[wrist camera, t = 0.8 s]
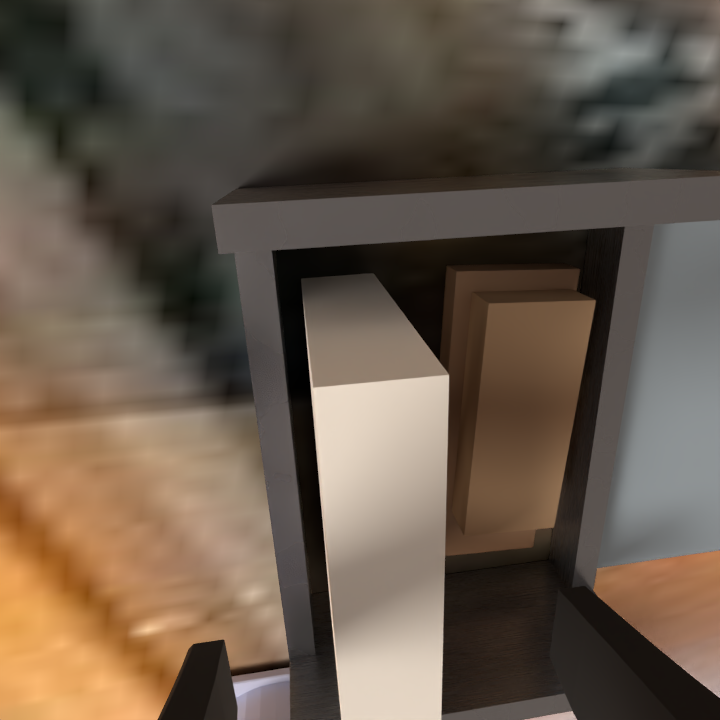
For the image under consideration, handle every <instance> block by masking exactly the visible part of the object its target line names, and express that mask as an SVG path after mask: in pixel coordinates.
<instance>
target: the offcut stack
mask: <svg viewBox="0 0 720 720" xmlns="http://www.w3.org/2000/svg"><path fill="white" fill-rule="evenodd" d="M579 273H580V269H579V268H576V267H574V266H571V265H568V264H565V263H543V264H486V265H447V267H446V281H445V295H444V309H443V322H442V336H441V350H440V363H441V365H442V366H443V367H444V369H445V370H446V371H447V373H448V374H449V403H448V447H447V491H446V535H445V556H451V555H461V554H470V553H480V552H490V551H500V550H510V549H519V548H529V547H533V544H534V538H535V532H536V529H544V528H554V525H555V519H556V514H557V509H558V503H559V498H560V492H561V487H562V482H563V476H564V471H565V465H566V460H567V455H568V449H569V444H570V438H571V433H572V428H573V422H574V417H575V411H576V406H577V401H578V395H579V390H580V384H581V379H582V374H583V368H584V363H585V357H586V352H587V347H588V341H589V336H590V330H591V325H592V320H593V314H594V309H595V303H596V300H594V299H592V298H590V297H588V296H586V295H583V294H581V293H579V292H577V291H576V290H577V284H578V279H579Z"/></svg>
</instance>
